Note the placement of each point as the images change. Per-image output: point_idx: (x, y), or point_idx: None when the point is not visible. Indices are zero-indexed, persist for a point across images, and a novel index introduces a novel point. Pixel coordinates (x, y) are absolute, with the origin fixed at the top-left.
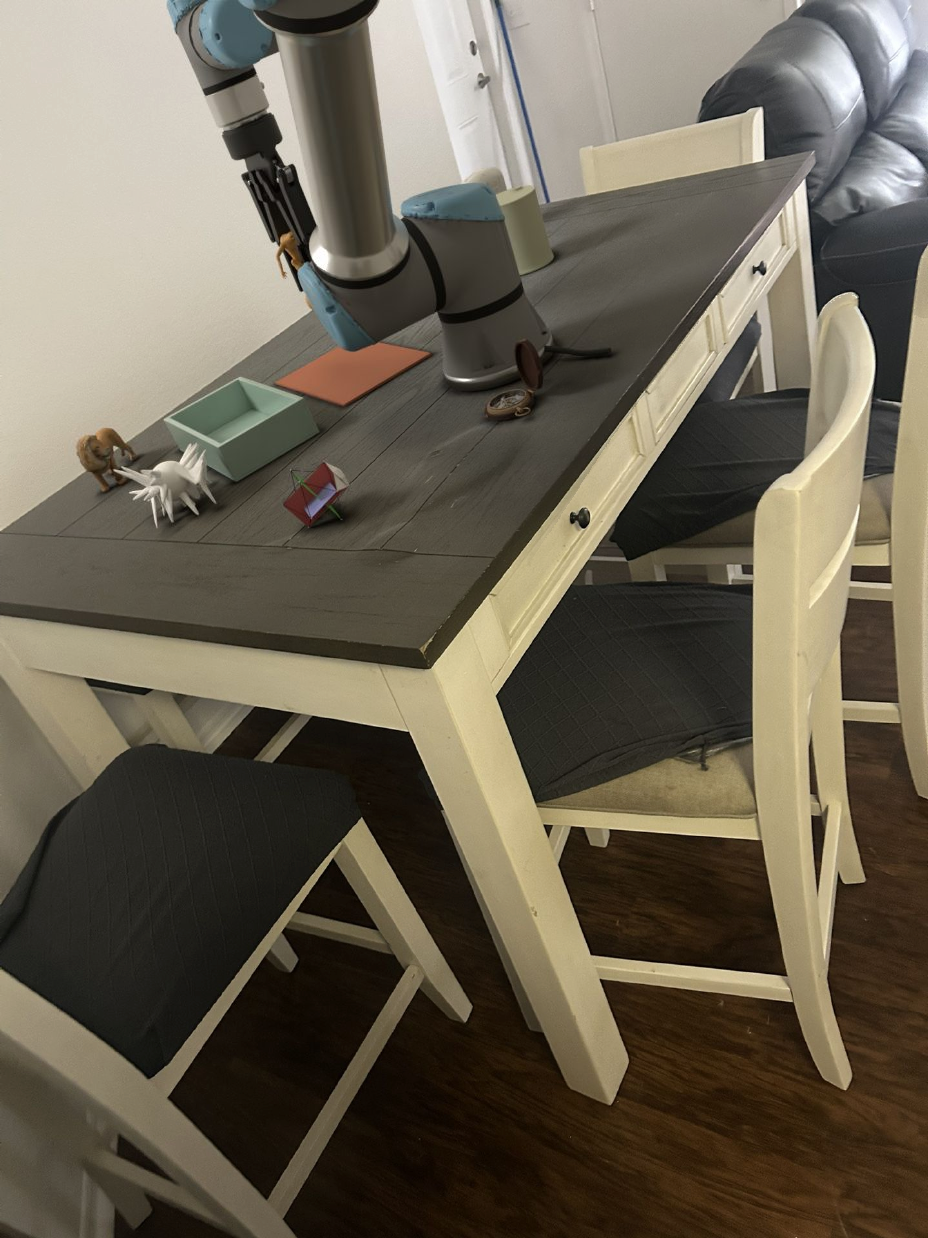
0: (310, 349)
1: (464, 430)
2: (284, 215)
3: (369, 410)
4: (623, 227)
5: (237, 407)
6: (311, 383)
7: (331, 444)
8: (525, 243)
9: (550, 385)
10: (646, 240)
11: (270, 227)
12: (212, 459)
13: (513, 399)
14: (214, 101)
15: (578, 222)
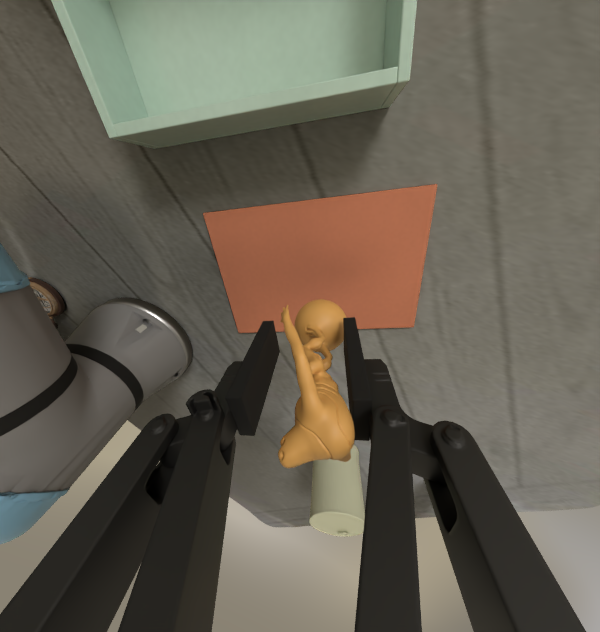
0: (487, 284)
1: (29, 256)
2: (170, 553)
3: (161, 226)
4: (306, 485)
5: (386, 50)
6: (337, 220)
7: (99, 142)
8: (314, 469)
9: (71, 331)
10: (262, 472)
11: (454, 496)
12: None
13: (48, 304)
14: None
15: (364, 493)
